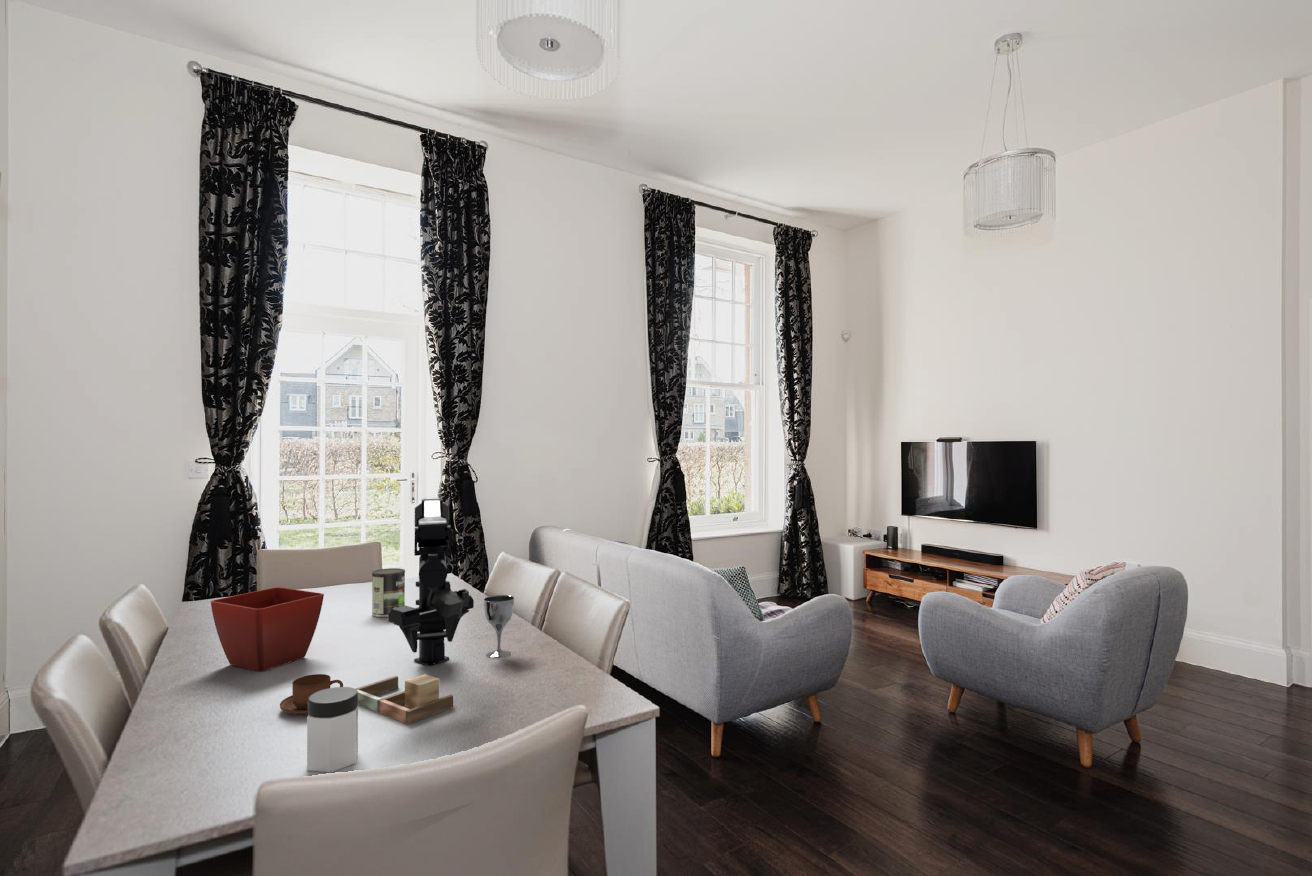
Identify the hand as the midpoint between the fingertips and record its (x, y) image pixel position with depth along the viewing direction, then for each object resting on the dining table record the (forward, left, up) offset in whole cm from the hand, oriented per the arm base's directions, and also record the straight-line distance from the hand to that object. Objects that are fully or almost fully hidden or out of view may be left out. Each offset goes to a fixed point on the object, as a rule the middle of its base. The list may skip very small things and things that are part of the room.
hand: (432, 646), depth 153 cm
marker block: (+3, -5, -11) cm, 13 cm away
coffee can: (-75, +38, -12) cm, 84 cm away
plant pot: (-56, -9, -12) cm, 58 cm away
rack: (-2, -6, -11) cm, 13 cm away
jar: (+11, -29, -12) cm, 34 cm away
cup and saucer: (-16, -19, -12) cm, 28 cm away
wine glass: (-12, +30, -12) cm, 34 cm away
